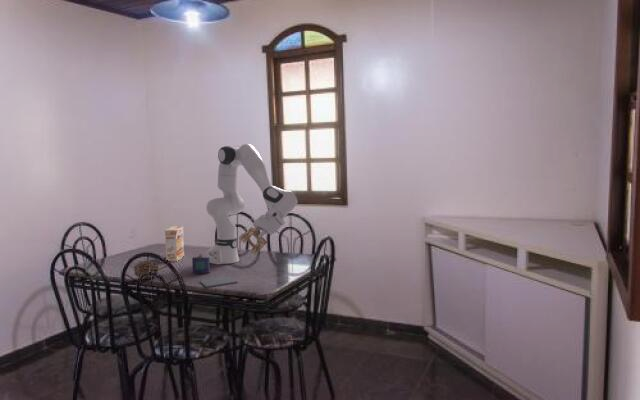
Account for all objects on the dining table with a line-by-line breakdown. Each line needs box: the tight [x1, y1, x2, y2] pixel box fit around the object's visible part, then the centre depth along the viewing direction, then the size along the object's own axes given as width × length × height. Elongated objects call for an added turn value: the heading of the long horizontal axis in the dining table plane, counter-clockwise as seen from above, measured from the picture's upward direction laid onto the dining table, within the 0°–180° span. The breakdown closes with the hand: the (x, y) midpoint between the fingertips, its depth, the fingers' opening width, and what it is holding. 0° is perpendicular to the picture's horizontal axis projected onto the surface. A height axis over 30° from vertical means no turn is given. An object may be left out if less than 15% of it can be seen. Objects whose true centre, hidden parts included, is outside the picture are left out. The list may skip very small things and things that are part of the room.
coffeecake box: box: [164, 225, 185, 263], centre depth 288 cm, size 15×7×20 cm, turn 179°
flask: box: [191, 253, 211, 275], centre depth 255 cm, size 9×3×11 cm, turn 95°
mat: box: [199, 276, 238, 289], centre depth 237 cm, size 16×11×1 cm
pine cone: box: [133, 259, 168, 280], centre depth 248 cm, size 22×10×10 cm, turn 148°
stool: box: [238, 226, 268, 256], centre depth 236 cm, size 9×6×10 cm
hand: (255, 235), depth 236 cm, fingers closed on stool, 5 cm apart
